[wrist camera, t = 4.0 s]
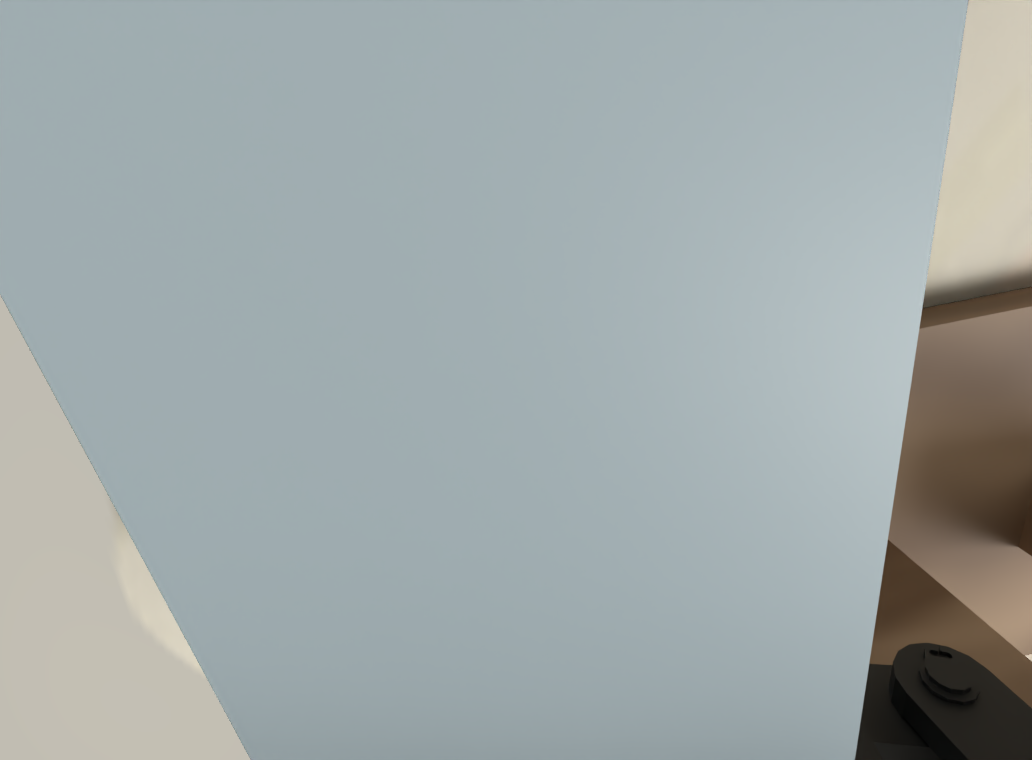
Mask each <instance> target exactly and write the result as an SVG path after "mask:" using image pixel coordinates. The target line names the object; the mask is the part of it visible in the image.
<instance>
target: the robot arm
mask: <svg viewBox="0 0 1032 760" xmlns="http://www.w3.org/2000/svg"><path fill="white" fill-rule="evenodd" d="M855 760H1032V708H1031V707H1030V706H1029V705H1027V704H1026V703H1025V702H1024V701H1023V700H1022V699H1021V698H1020V697H1018V696H1017V695H1016V694H1015V693H1014V692H1013V691H1012V690H1011V689H1009V688H1008V687H1007V686H1006V685H1005V684H1004V683H1003V682H1002V681H1000V680H999V679H998V678H997V677H996V676H995V675H994V674H993V673H992V672H990V671H989V670H988V669H987V668H985V667H984V666H983V665H981V664H980V663H978V662H977V661H976V660H974V659H973V658H971V657H970V656H968V655H966V654H964V653H961V652H959V651H957V650H955V649H952V648H950V647H948V646H942V645H937V644H932V643H917V644H909V645H907V646H906V647H904V648H902V649H900V650H899V651H898V652H897V654H896V656H895V658H894V661H893V664H892V665H882V664H869V669H868V675H867V682H866V689H865V695H864V702H863V709H862V715H861V722H860V729H859V735H858V742H857V749H856V755H855Z"/></svg>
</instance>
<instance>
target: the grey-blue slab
mask: <svg viewBox="0 0 1032 760" xmlns="http://www.w3.org/2000/svg"><path fill="white" fill-rule="evenodd" d="M967 6H968V0H0V295H1V297H2V299H3V301H4V302H5V304H6V306H7V308H8V310H9V312H10V313H11V315H12V317H13V319H14V321H15V323H16V325H17V327H18V328H19V330H20V332H21V334H22V336H23V338H24V339H25V341H26V343H27V345H28V347H29V349H30V351H31V353H32V355H33V356H34V358H35V360H36V362H37V364H38V365H39V368H40V369H41V371H42V373H43V375H44V377H45V379H46V380H47V382H48V384H49V386H50V388H51V390H52V392H53V394H54V395H55V397H56V399H57V401H58V403H59V405H60V407H61V408H62V410H63V412H64V414H65V416H66V418H67V420H68V421H69V423H70V425H71V427H72V429H73V431H74V432H75V434H76V436H77V438H78V440H79V442H80V444H81V445H82V447H83V449H84V451H85V453H86V455H87V457H88V459H89V460H90V462H91V464H92V466H93V468H94V470H95V472H96V473H97V475H98V477H99V479H100V481H101V483H102V484H103V486H104V488H105V490H106V492H107V494H108V496H109V497H110V499H111V501H112V503H113V505H114V507H115V509H116V510H117V512H118V514H119V516H120V518H121V520H122V522H123V523H124V525H125V527H126V529H127V531H128V533H129V535H130V536H131V538H132V540H133V542H134V544H135V546H136V548H137V549H138V551H139V553H140V555H141V557H142V559H143V561H144V562H145V564H146V566H147V568H148V570H149V572H150V574H151V575H152V577H153V579H154V581H155V583H156V585H157V587H158V588H159V590H160V592H161V594H162V596H163V598H164V600H165V601H166V603H167V605H168V607H169V609H170V611H171V613H172V614H173V616H174V618H175V620H176V622H177V624H178V626H179V627H180V629H181V631H182V633H183V635H184V637H185V639H186V640H187V642H188V644H189V646H190V648H191V650H192V652H193V653H194V655H195V657H196V659H197V661H198V663H199V665H200V666H201V668H202V670H203V672H204V674H205V676H206V678H207V679H208V681H209V683H210V685H211V687H212V689H213V691H214V692H215V694H216V696H217V698H218V700H219V702H220V704H221V705H222V707H223V709H224V711H225V713H226V714H227V717H228V718H229V720H230V722H231V724H232V726H233V728H234V730H235V731H236V733H237V735H238V737H239V739H240V741H241V743H242V744H243V746H244V748H245V750H246V752H247V754H248V755H249V757H250V759H251V760H855V755H856V749H857V742H858V735H859V729H860V722H861V715H862V709H863V702H864V695H865V689H866V682H867V675H868V669H869V662H870V655H871V648H872V642H873V635H874V628H875V622H876V615H877V608H878V602H879V595H880V588H881V582H882V575H883V568H884V562H885V555H886V548H887V541H888V535H889V528H890V521H891V515H892V508H893V501H894V495H895V488H896V481H897V475H898V468H899V461H900V455H901V448H902V441H903V434H904V428H905V421H906V414H907V408H908V401H909V394H910V388H911V381H912V374H913V368H914V361H915V354H916V348H917V341H918V334H919V327H920V321H921V314H922V307H923V301H924V294H925V287H926V281H927V274H928V267H929V261H930V254H931V247H932V241H933V234H934V227H935V220H936V214H937V207H938V200H939V194H940V187H941V180H942V174H943V167H944V160H945V154H946V147H947V140H948V134H949V127H950V120H951V113H952V107H953V100H954V93H955V87H956V80H957V73H958V67H959V60H960V53H961V47H962V40H963V33H964V27H965V20H966V13H967Z"/></svg>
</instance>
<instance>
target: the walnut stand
mask: <svg viewBox="0 0 1032 760" xmlns="http://www.w3.org/2000/svg"><path fill="white" fill-rule="evenodd" d="M917 643H932V644H937V645H942V646H948V647H950V648H952V649H955V650H957V651H959V652H961V653H964V654H966V655H968V656H970V657H971V658H973V659H974V660H976V661H977V662H978V663H980V664H981V665H983V666H984V667H985V668H987V669H988V670H989V671H990V672H992V673H993V674H994V675H995V676H996V677H997V678H998V679H999V680H1000V681H1002V682H1003V683H1004V684H1005V685H1006V686H1007V687H1008V688H1009V689H1011V690H1012V691H1013V692H1014V693H1015V694H1016V695H1017V696H1018V697H1020V698H1021V699H1022V700H1023V701H1024V702H1025V703H1026V704H1027V705H1029V706H1030V707H1031V708H1032V662H1031V661H1030V660H1029V659H1028V658H1027V657H1025V655H1029V654H1032V287H1029V288H1024V289H1019V290H1014V291H1009V292H1004V293H999V294H994V295H989V296H984V297H979V298H974V299H968V300H963V301H958V302H953V303H948V304H943V305H938V306H933V307H928V308H923V309H922V314H921V321H920V327H919V334H918V341H917V348H916V354H915V361H914V368H913V374H912V381H911V388H910V394H909V401H908V408H907V414H906V421H905V428H904V434H903V441H902V448H901V455H900V461H899V468H898V475H897V481H896V488H895V495H894V501H893V508H892V515H891V521H890V528H889V535H888V541H887V548H886V555H885V562H884V568H883V575H882V582H881V588H880V595H879V602H878V608H877V615H876V622H875V628H874V635H873V642H872V648H871V655H870V662H869V664H882V665H892V664H893V661H894V658H895V656H896V654H897V652H898V651H899V650H900V649H902V648H904V647H906V646H907V645H909V644H917Z"/></svg>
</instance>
